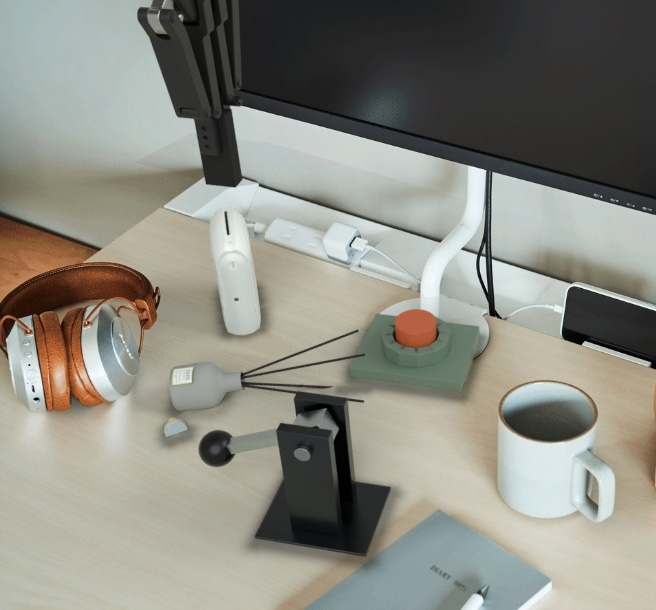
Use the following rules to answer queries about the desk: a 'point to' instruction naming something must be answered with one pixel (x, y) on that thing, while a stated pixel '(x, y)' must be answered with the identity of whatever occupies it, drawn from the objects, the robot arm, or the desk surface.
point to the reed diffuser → (224, 384)
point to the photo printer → (234, 271)
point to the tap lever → (255, 438)
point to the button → (415, 328)
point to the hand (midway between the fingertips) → (224, 181)
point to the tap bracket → (322, 486)
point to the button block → (417, 356)
